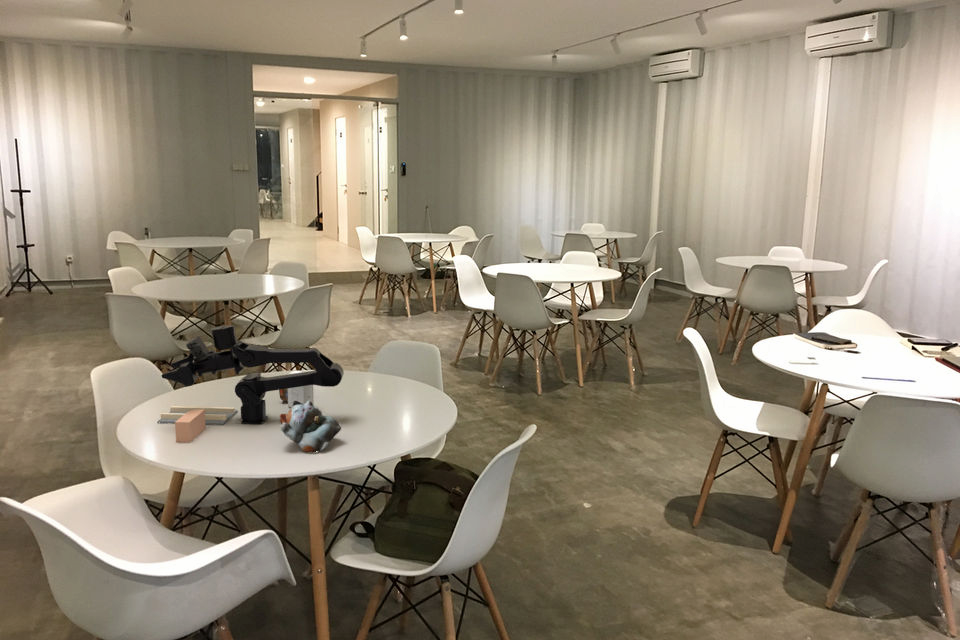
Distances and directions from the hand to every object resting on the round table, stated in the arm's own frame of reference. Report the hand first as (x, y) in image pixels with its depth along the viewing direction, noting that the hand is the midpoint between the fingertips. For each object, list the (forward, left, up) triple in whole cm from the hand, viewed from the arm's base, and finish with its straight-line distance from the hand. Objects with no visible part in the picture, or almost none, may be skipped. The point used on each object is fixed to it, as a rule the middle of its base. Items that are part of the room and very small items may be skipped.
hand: (166, 370), depth 229 cm
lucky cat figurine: (-47, +18, -16) cm, 53 cm away
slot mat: (-7, -4, -16) cm, 18 cm away
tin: (-30, -27, -16) cm, 44 cm away
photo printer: (-36, -15, -16) cm, 42 cm away
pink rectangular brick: (-11, +12, -16) cm, 23 cm away
